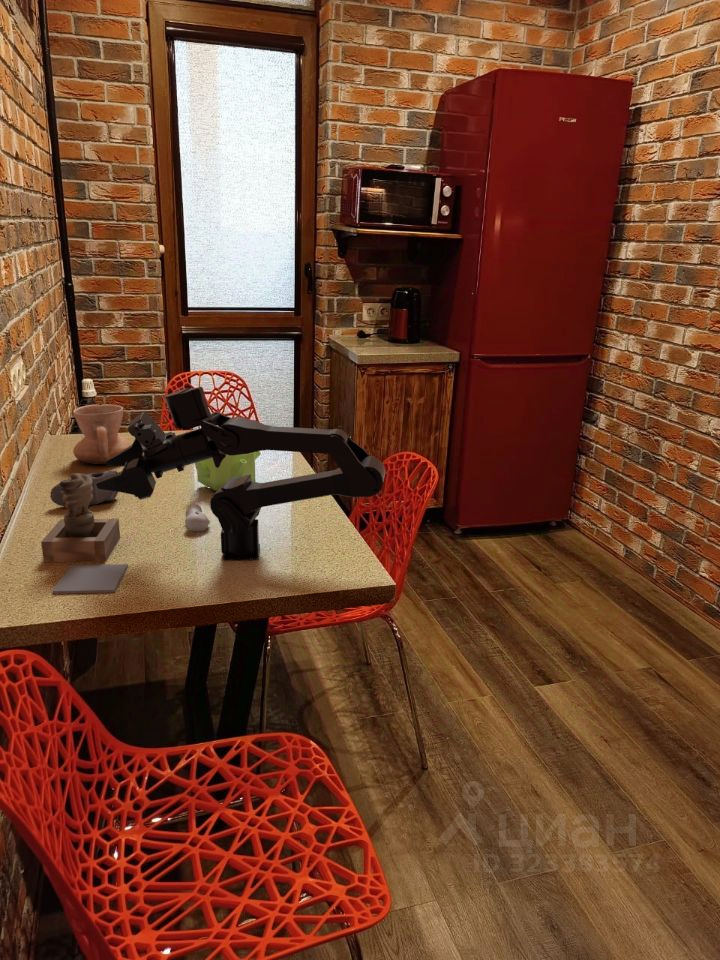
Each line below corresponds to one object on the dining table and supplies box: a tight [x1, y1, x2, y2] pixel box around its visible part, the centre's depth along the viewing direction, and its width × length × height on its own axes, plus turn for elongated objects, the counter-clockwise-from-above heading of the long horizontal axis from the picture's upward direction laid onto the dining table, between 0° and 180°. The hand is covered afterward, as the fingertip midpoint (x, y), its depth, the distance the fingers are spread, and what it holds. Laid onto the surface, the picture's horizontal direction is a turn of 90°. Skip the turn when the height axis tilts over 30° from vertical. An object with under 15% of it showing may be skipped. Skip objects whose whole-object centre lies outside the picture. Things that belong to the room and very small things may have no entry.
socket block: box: [40, 518, 121, 563], centre depth 131 cm, size 11×11×4 cm
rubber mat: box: [51, 563, 129, 595], centre depth 120 cm, size 10×10×1 cm
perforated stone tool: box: [49, 470, 119, 507], centre depth 154 cm, size 15×5×7 cm, turn 116°
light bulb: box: [59, 472, 95, 538], centre depth 129 cm, size 6×6×15 cm
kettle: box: [194, 451, 261, 492], centre depth 166 cm, size 15×14×11 cm
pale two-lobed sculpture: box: [184, 503, 211, 532], centre depth 144 cm, size 4×8×5 cm
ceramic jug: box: [72, 403, 131, 465], centre depth 183 cm, size 18×14×14 cm
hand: (102, 474), depth 126 cm, fingers open, 9 cm apart
